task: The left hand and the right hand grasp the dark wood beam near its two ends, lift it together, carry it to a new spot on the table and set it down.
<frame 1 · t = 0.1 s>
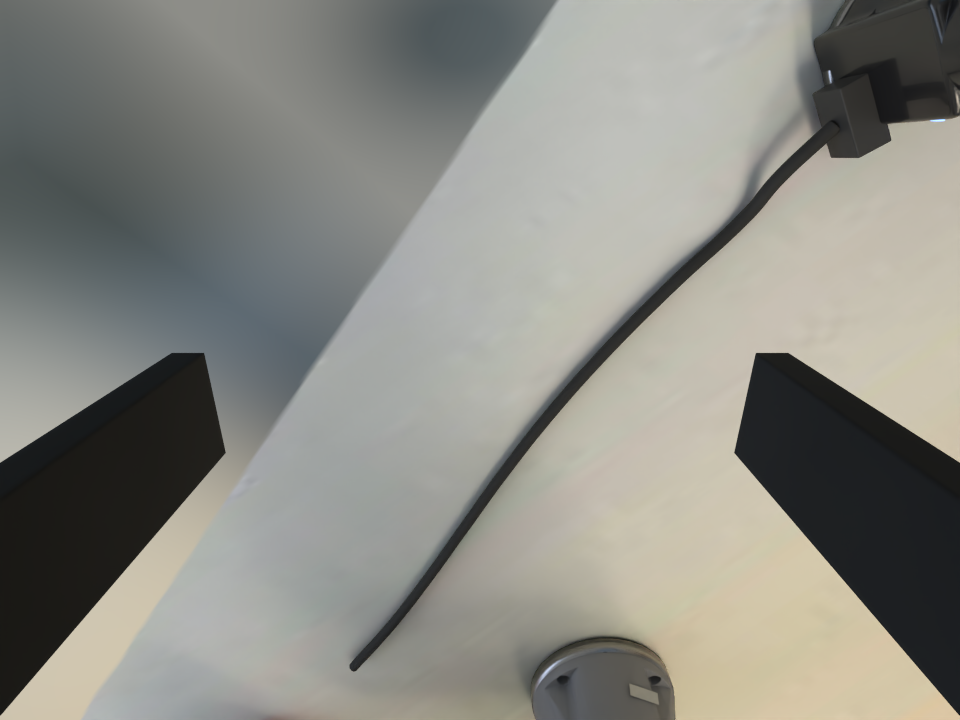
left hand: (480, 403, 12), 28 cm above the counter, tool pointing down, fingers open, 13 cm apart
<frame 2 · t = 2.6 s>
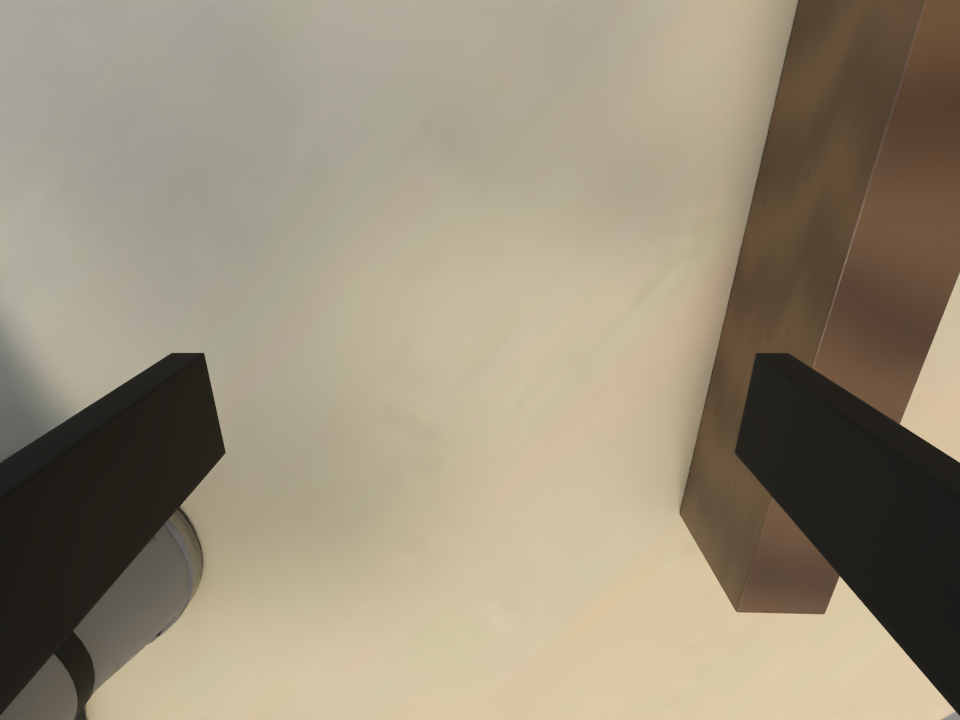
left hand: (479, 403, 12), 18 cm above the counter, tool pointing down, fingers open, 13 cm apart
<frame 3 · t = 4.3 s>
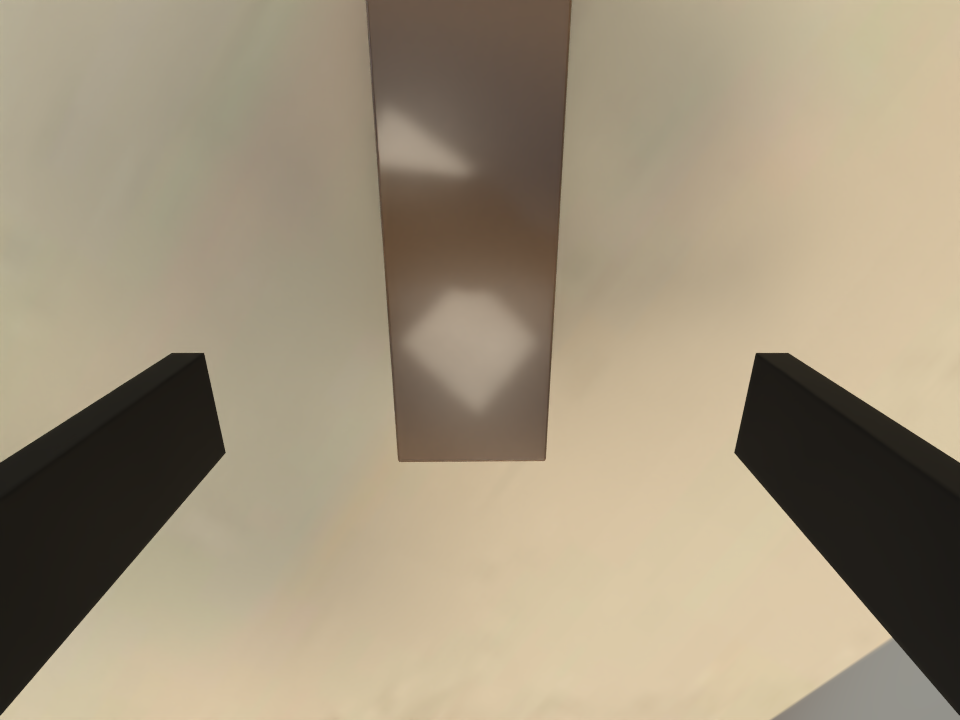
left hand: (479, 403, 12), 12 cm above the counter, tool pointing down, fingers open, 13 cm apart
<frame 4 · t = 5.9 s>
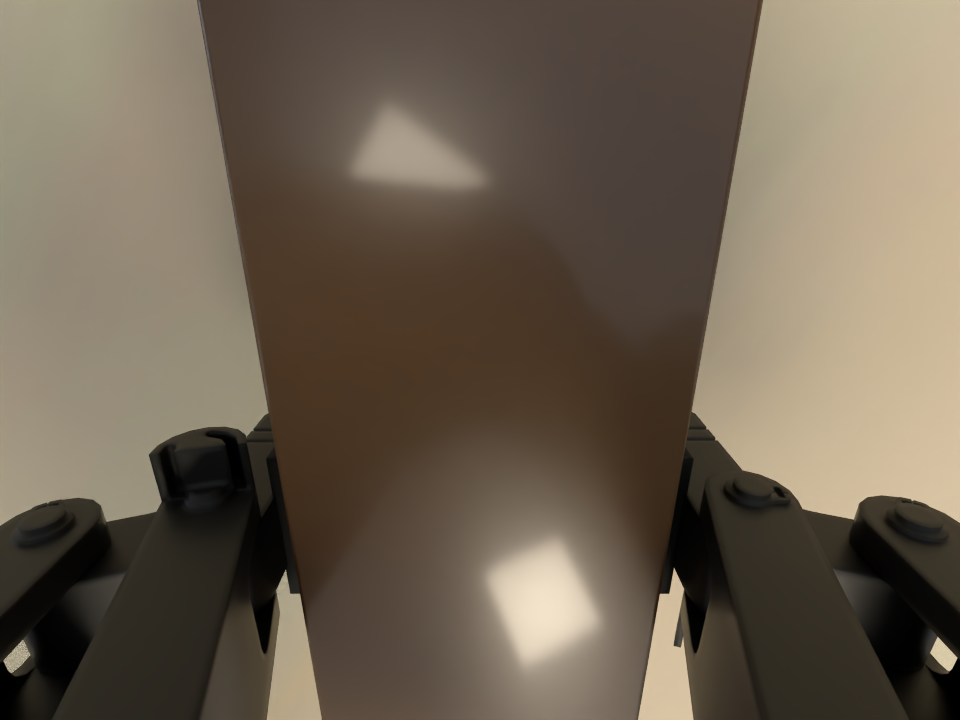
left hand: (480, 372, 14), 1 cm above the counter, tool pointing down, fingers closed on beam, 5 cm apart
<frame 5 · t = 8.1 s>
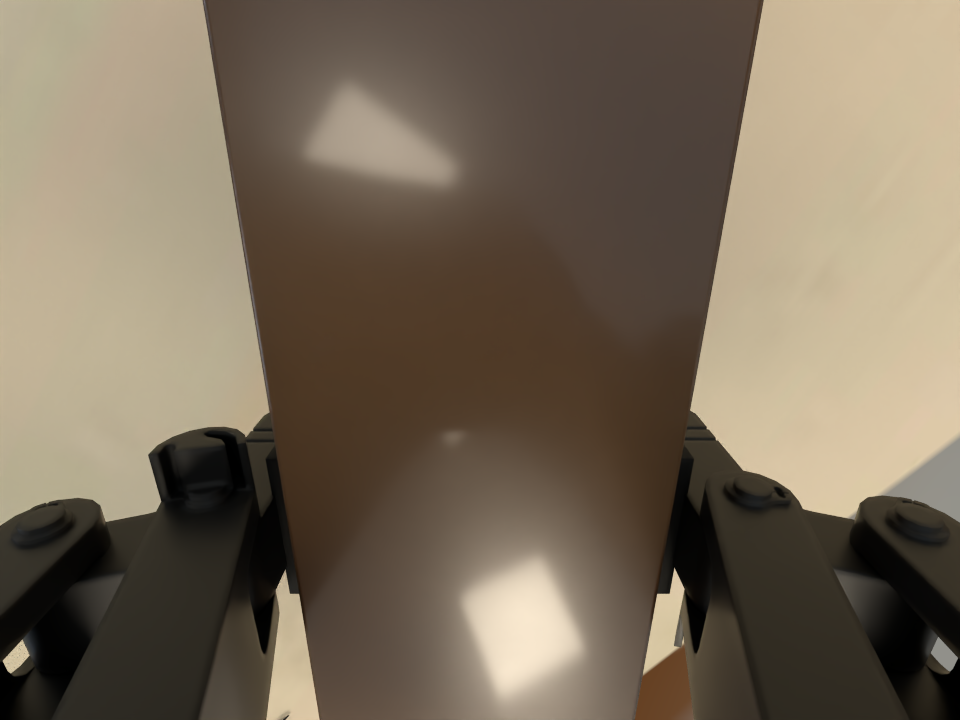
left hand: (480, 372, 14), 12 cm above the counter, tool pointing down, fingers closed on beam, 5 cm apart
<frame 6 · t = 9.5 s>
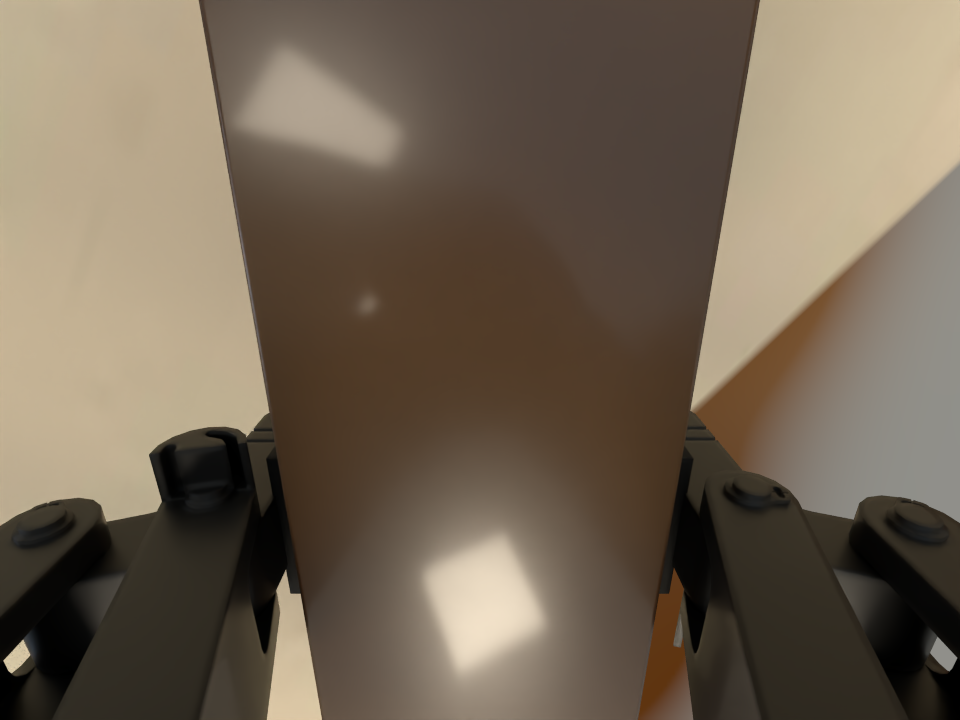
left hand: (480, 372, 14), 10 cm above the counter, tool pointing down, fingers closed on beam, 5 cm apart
when the left hand's fingers open (1 cm above the counter, at t = 10.5 s): beam stays where it is, on the counter.
when the right hand's fingers open (4 cm above the counter, at t = 10.7 s): beam stays where it is, on the counter.
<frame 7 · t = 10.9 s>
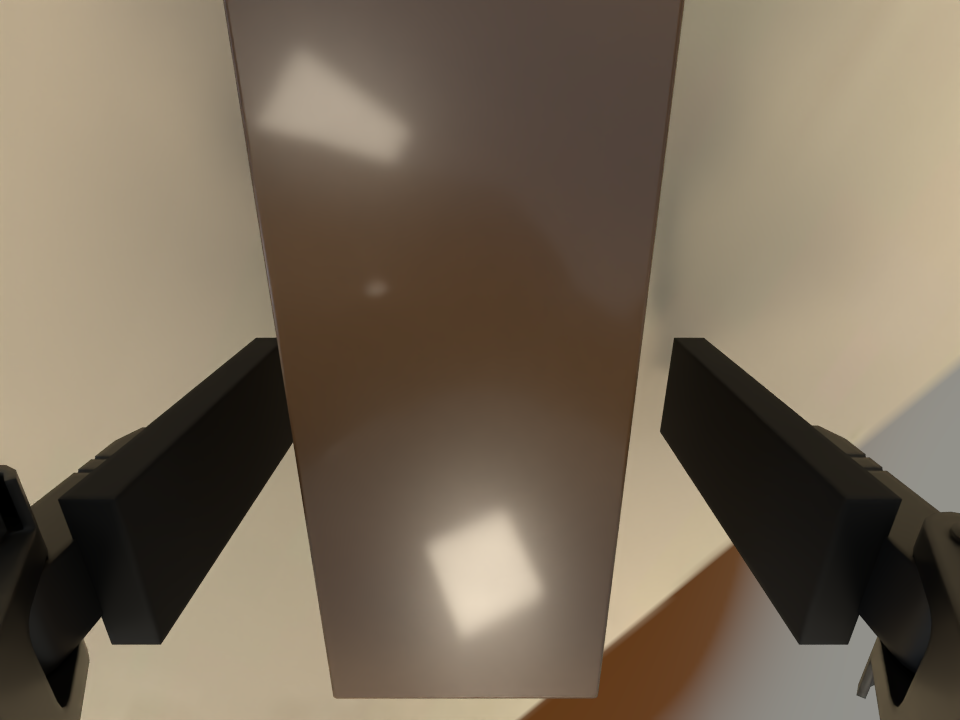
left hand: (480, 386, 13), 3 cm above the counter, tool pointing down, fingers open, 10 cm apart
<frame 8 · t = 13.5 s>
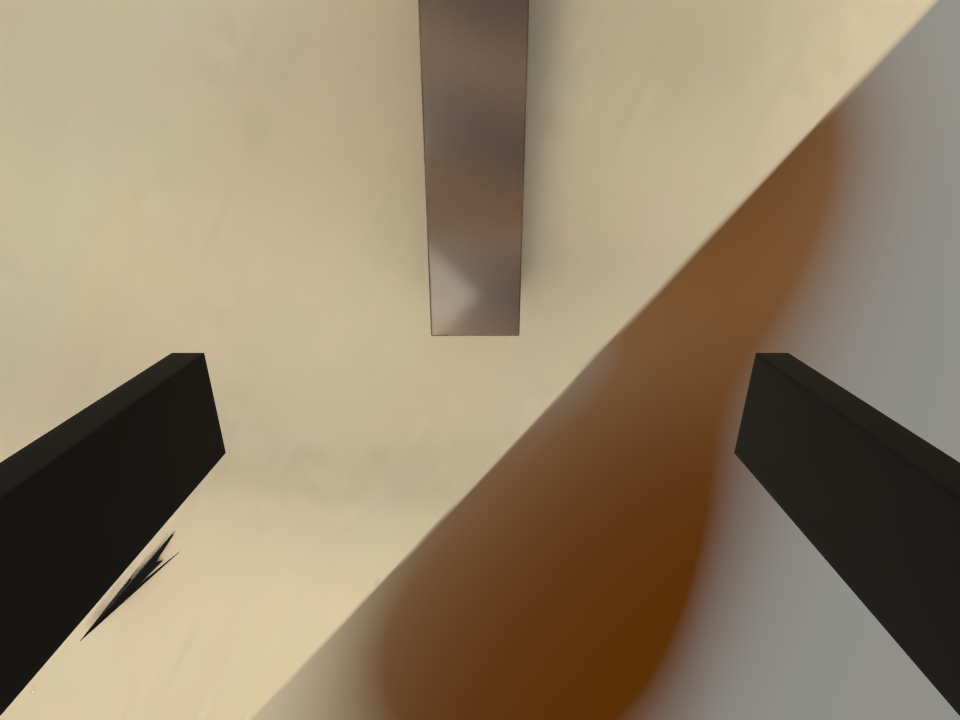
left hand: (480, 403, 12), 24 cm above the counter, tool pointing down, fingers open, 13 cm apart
feather: (103, 615, 48), on the counter
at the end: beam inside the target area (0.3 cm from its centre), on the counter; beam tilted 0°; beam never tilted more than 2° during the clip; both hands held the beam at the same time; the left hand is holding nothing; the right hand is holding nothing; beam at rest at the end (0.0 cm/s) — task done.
